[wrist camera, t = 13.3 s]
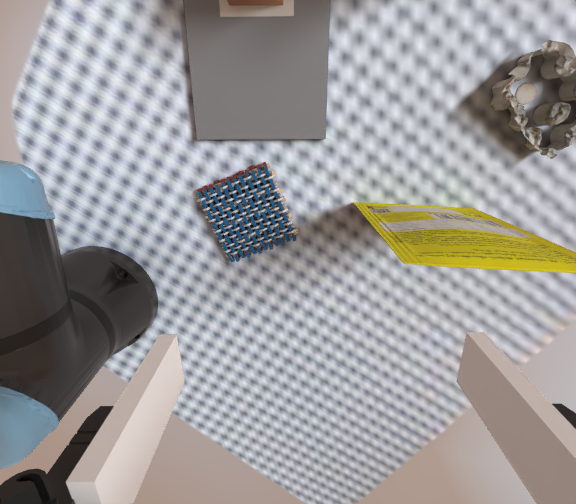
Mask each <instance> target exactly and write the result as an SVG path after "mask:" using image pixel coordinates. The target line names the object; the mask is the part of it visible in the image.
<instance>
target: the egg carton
mask: <svg viewBox="0 0 576 504" xmlns="http://www.w3.org/2000/svg"><path fill="white" fill-rule="evenodd" d="M538 55H542V56H543V57H544V59H545V61H544V62H543V63H542V66H541V75H542V77H543V78H545V79H554V78H561V80H562V81H563V83H562V85H561V86H560V88H559V92H558V94H559V97H560V99H561V100H562V101H574V100H576V56H575V54H574V52H573V49H572V48H571V47H570V46H569V45H568V44H566V43H562V42H557V41H551V40H548V41H547V42H545V43H544V44H543V46H542V47H541V49H540V50H537V51H535V52H531V53H528V54H525V55H524V56H523V57H521V58H520V59H519V60H518V61H517V65H518V66H517V67H516V68H514V69H513V70H512V71H511V72H510V73H509V75H511V76H512V77H511V78H509V79H507V80H502V81H498V82H497V83H496V84H495V85H494V86H493V87H492V91H493V99H492V101H491V106H492V108H494V109H495V110H497V111H499V110H505V109H508V110H510V112H511V120H510V122H509V124H508V126H509V127H511V128H512V129H513V130H516V131H522V132H523V134H524V136H525V137H526V138H527V139H528V141H527V142H526V144H525V145H526V147H527V148H528V149H530V150H533V149H537V150H539V151H540V154H541V155H547V156H548V157H550V158H554V157H555V156H556V155H557V153H558V152H559V151H560V150H562V149H563V148H565V147H568V146H570V145H571V144H572V142H573V141H574V140H575V139H576V120H575V121H574V122H573V123H572V124H562V125H558V126H556V127H555V128H554V129H553V130H552V132H551V134H550V140H551V144H550V145H549V146H548V147H547V148H544V147H539V145H540V141H541V139H542V136H541V131H542V129H540V128H532V127H525V125H526V123H527V121H528V118H527V117H526V116H525V110H524V109H523V108H524V106H522V105H524V104H528V103H530V102H531V101H532V100H533V99H534V97H535V95H536V88H535V85H534V84H533V83H524V84H522V85H521V86H519V88H518V89H517V91H516V94H515V97H514V96H513V95H512V93H511V92H510V87H511V84H512V83H513V82H515V81H519V80H521V79H523V78H524V77H525V76H526V75H527V73H528V72H529V69H530V61H531V57H534V56H538ZM518 103H519V104H522V105H518ZM570 109H571V106H570V104H569V103H563V102H556V103H547V104H542V105H540V106H539V107H537V109H536V110H535V111H534V114H533V121H534V122H535V124H537V125H557V124H559V123H561V122H563V121H564V120H566V119H567V118H568V115H569V113H570ZM575 116H576V112H575ZM524 127H525V128H524Z"/></svg>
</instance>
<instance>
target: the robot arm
mask: <svg viewBox="0 0 576 504" xmlns="http://www.w3.org/2000/svg"><path fill="white" fill-rule="evenodd" d="M53 219H55V216H54V213H52V212H51V211H50V207H49V204H48V201H47V198H46V194H45V191H44V187H43V184H42V181H41V179H40V178H39V176H38V175H37V174H36V173H35V172H34V171H33V170H31V169H30V168H28V167H26V166H24V165H22V164H18V163H14V162H8V161H1V160H0V469H3V468H7V467H9V466H12V465H14V464H16V463H18V462H20V461H22V460H23V459H24V458H26V457H27V456H28V455H29V454H30V453H31V452H33V450H34V449H35V448H36V447H37V446H38V445H39V444H40V442H41V441H42V440H43V439H44V438H45V437H46V436H47V435H48V434H49V433H50V432H52V431H54V430H55V428H56V427H57V426H58V424H59V421H60V420H61V419H62V417H63V416H64V415H65V414H66V412H67V411H68V409H69V408H70V407H71V406H72V405H73V403H74V402H75V401H76V399H77V398H78V397H79V396H80V394H81V393H82V392H83V390H84V389H85V388H86V387H87V385H88V384H89V383H90V381H91V380H92V379H93V378H94V376H95V375H96V374H97V372H98V371H99V370H100V369H101V367H102V366H103V365H104V363H105V362H106V361H107V360H108V358H109V357H111V356H112V355H114V354H116V353H118V352H119V351H121V350H123V349H124V348H126V347H127V346H129V345H131V344H133V343H134V342H136V341H137V340H139V339H140V338H141V337H142V336H143V335H144V334H145V332H146V331H147V330H148V328H149V327H150V326H151V324H152V323H153V321H154V319H155V317H156V314H157V309H158V297H157V292H156V289H155V286H154V284H153V282H152V280H151V279H150V277H149V275H148V274H147V273H146V272H145V270H144V269H143V268H142V267H141V266H140V265H139V264H138V263H136V262H135V261H134V260H133V259H131V258H130V257H128V256H126V255H124V254H123V253H120V252H118V251H115V250H113V249H109V248H105V247H97V246H89V247H82V248H78V249H75V250H72V251H70V252H68V253H67V254H65V255H63V256H61V254H60V249H59V244H58V240H57V235H56V230H55V226H54V221H53ZM457 383H458V384H459V386H460V387H461V389H462V390H463V392H464V393H465V395H466V396H467V398H468V399H469V401H470V403H471V404H472V406H473V407H474V409H475V410H476V411H477V413H478V415H479V416H480V418H481V419H482V421H483V422H484V424H485V425H486V427H487V429H488V430H489V432H490V433H491V435H492V436H493V438H494V439H495V441H496V442H497V444H498V445H499V447H500V448H501V449H502V451H503V453H504V455H505V456H506V458H507V459H508V460H509V462H510V464H511V465H512V467H513V468H514V470H515V471H516V473H517V474H518V476H519V477H520V479H521V480H522V482H523V484H524V485H525V486H526V488H527V490H528V491H529V493H530V494H531V496H532V497H533V499H534V500H535V502H536V503H537V504H576V413H574V412H573V411H571V410H570V409H568V408H567V407H565V406H564V405H562V404H551V403H550V402H549V401H548V400H547V399H546V398H545V396H544V395H543V394H542V393H541V392H540V391H539V390H538V389H537V388H536V387H535V386H534V385H533V384H532V383H531V382H530V381H529V380H528V378H527V377H526V376H525V375H524V374H523V373H522V372H521V371H520V370H519V369H518V368H517V367H516V366H515V365H514V364H513V362H512V361H511V360H510V359H509V358H508V357H507V356H506V355H505V354H504V353H503V352H502V351H501V350H500V349H499V348H498V347H497V346H496V345H495V343H494V342H493V341H492V340H491V339H490V338H489V337H488V336H487V335H486V334H485V333H484V332H467V334H466V339H465V344H464V348H463V353H462V358H461V363H460V367H459V372H458V377H457ZM183 384H184V378H183V371H182V365H181V359H180V353H179V346H178V340H177V334H168V335H159V337H158V338H157V340H156V341H155V343H154V345H153V346H152V348H151V349H150V351H149V352H148V354H147V356H146V357H145V359H144V360H143V362H142V363H141V365H140V366H139V368H138V370H137V371H136V373H135V374H134V376H133V377H132V379H131V381H130V382H129V384H128V385H127V387H126V388H125V390H124V392H123V393H122V395H121V396H120V398H119V399H118V401H117V402H116V404H115V406H100V407H99V408H98V409H97V410H96V411H94V412H93V413H92V414H91V415H90V416H88V417H87V418H86V420H85V421H84V423H83V424H82V425H81V427H80V428H79V430H78V431H77V434H75V435H74V437H73V438H72V440H71V441H70V443H69V445H68V446H67V447H66V448H65V449H64V451H63V452H62V454H61V455H60V457H59V458H58V459H57V461H56V462H55V464H54V465H53V467H52V468H51V469H50V471H49V472H48V474H46V473H45V471H43V470H40V469H31V470H26V471H23V472H21V473H18V474H16V475H14V476H13V477H11V478H9V479H8V480H6V481H5V482H4V483H3V484H2V485H0V504H133V503H134V500H135V498H136V496H137V493H138V491H139V488H140V486H141V484H142V481H143V479H144V477H145V474H146V472H147V470H148V467H149V465H150V462H151V460H152V458H153V455H154V453H155V451H156V448H157V446H158V444H159V441H160V439H161V436H162V434H163V432H164V429H165V427H166V425H167V422H168V420H169V418H170V415H171V413H172V410H173V408H174V406H175V403H176V401H177V399H178V396H179V394H180V391H181V389H182V387H183Z"/></svg>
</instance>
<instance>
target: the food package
mask: <svg viewBox="0 0 576 504" xmlns="http://www.w3.org/2000/svg"><path fill="white" fill-rule="evenodd" d="M353 203H354V202H353ZM354 204H355V205H356V206H357V208H358V209H359V210H360V211H361V212H362V214H363V215H364V216H365V217H366V219H367V220H368V221H369V222H370V223H371V225H372V226H373V227H374V228H375V229H376V231H377V232H378V233H379V234H380V235H381V237H382V238H383V239H384V240H385V241H386V243H387V244H388V245H389V246H390V247H391V248H392V250H393V251H394V252H395V254H396V255H397V256H398V257H399V259H400V260H401V261H402V262H403V263H404V264H413V265H415V264H418V265H430V266H444V267H461V268H479V269H498V270H518V271H541V272H565V273H576V253H575V252H573V251H571V250H569V249H566V248H564V247H562V246H559V245H557V244H555V243H552V242H550V241H548V240H546V239H543V238H541V237H539V236H536V235H534V234H532V233H529V232H527V231H525V230H523V229H520V228H518V227H516V226H513V225H511V224H509V223H507V222H504V221H502V220H500V219H497V218H495V217H493V216H491V215H488V214H486V213H484V212H481V211H478V210H476V209H474V208H455V207H440V206H421V205H401V204H375V203H354Z"/></svg>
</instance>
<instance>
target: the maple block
mask: <svg viewBox="0 0 576 504" xmlns="http://www.w3.org/2000/svg"><path fill="white" fill-rule="evenodd" d="M227 2H228V4H229V5H230V6H239V5H283V0H227Z"/></svg>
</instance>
